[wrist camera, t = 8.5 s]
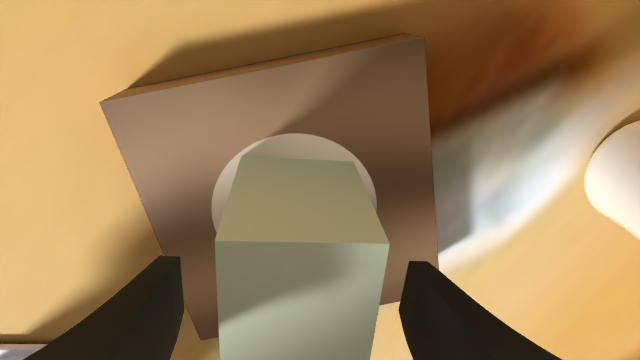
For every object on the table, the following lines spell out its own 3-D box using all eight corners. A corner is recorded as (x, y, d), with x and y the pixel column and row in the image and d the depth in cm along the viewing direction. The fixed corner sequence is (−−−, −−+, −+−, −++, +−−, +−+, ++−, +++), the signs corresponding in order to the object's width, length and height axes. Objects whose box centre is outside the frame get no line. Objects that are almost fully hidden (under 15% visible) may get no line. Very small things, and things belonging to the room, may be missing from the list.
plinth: (423, 262, 21) (440, 294, 19) (210, 304, 21) (200, 341, 19) (405, 33, 16) (424, 37, 14) (125, 89, 16) (98, 102, 14)
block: (342, 253, 17) (368, 366, 12) (242, 252, 17) (220, 368, 11) (353, 161, 15) (389, 243, 10) (241, 156, 15) (214, 241, 10)
